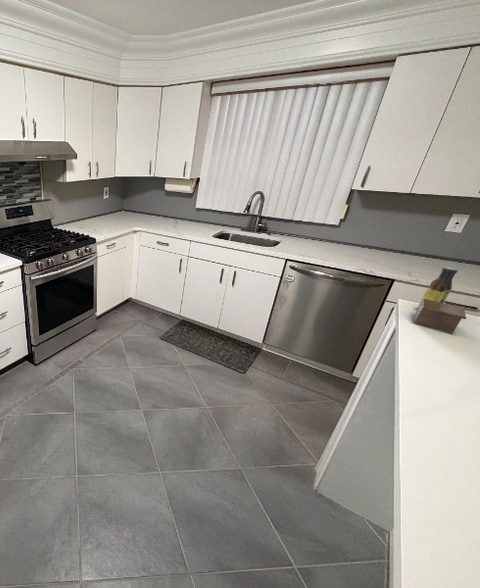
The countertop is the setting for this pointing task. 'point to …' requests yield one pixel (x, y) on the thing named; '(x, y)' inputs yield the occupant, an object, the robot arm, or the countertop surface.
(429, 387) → the countertop surface
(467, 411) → the countertop surface
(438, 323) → the walnut box
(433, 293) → the sauce bottle
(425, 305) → the hatch
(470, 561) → the countertop surface
